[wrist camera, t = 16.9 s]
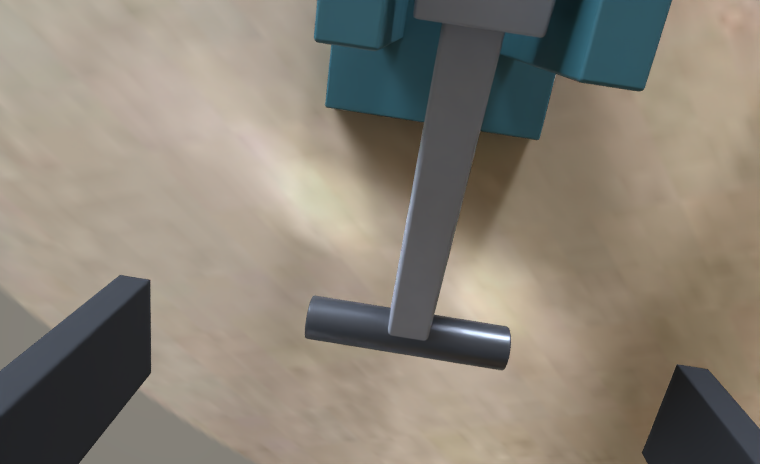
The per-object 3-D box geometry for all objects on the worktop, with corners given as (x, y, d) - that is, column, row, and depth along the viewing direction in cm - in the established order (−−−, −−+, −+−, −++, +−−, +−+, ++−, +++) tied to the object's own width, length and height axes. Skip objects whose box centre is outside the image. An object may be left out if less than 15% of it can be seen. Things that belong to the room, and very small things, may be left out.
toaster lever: (497, 331, 16) (503, 398, 14) (317, 301, 16) (299, 364, 14) (673, -159, 9) (733, -156, 7) (349, -206, 9) (321, -216, 7)
